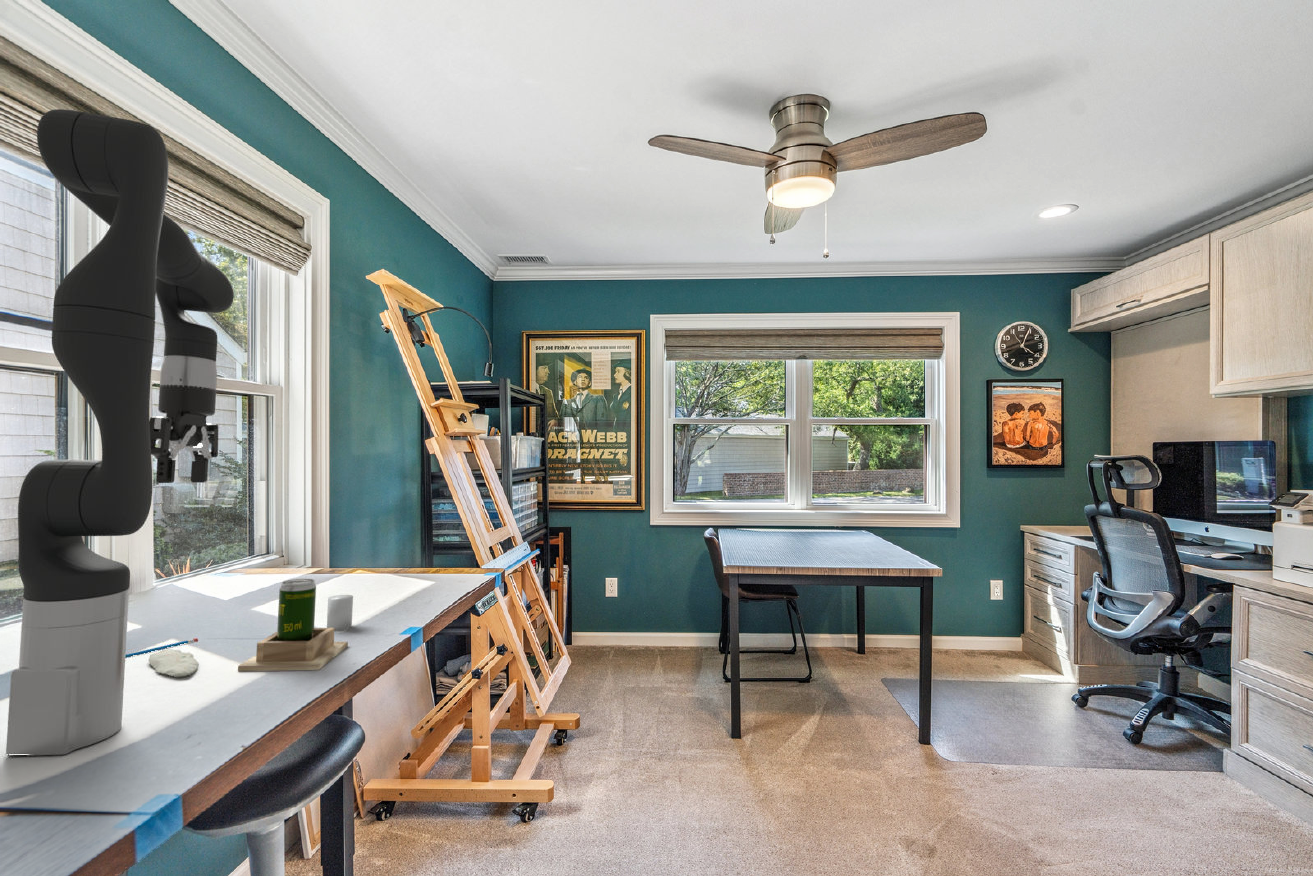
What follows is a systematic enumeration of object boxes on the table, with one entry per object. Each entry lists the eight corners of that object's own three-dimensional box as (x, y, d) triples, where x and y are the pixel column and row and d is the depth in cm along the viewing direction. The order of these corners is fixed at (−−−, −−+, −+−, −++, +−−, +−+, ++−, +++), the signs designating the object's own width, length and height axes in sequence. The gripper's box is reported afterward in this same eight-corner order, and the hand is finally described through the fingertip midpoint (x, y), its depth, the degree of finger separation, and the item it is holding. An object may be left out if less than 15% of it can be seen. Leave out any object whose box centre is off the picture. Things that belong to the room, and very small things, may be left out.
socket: (318, 670, 96) (319, 646, 96) (237, 671, 94) (239, 646, 94) (347, 646, 108) (348, 624, 108) (276, 647, 106) (277, 625, 106)
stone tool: (142, 664, 98) (163, 684, 88) (143, 651, 98) (164, 669, 89) (186, 657, 103) (210, 676, 93) (187, 645, 103) (211, 662, 93)
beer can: (310, 646, 105) (313, 577, 105) (315, 654, 100) (319, 582, 101) (274, 651, 101) (277, 580, 102) (278, 660, 97) (281, 586, 97)
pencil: (198, 642, 108) (198, 638, 108) (74, 672, 93) (74, 667, 93) (195, 641, 109) (195, 638, 109) (72, 671, 93) (72, 666, 93)
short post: (346, 630, 117) (348, 599, 117) (322, 631, 116) (324, 599, 116) (355, 624, 121) (356, 594, 121) (332, 624, 121) (333, 594, 121)
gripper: (185, 380, 94) (179, 483, 93) (236, 392, 108) (231, 482, 107) (132, 378, 93) (125, 483, 92) (191, 391, 107) (185, 482, 106)
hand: (182, 482), depth 100 cm, fingers open, 8 cm apart
